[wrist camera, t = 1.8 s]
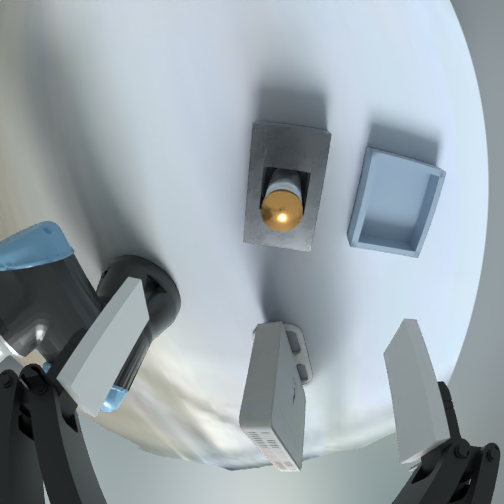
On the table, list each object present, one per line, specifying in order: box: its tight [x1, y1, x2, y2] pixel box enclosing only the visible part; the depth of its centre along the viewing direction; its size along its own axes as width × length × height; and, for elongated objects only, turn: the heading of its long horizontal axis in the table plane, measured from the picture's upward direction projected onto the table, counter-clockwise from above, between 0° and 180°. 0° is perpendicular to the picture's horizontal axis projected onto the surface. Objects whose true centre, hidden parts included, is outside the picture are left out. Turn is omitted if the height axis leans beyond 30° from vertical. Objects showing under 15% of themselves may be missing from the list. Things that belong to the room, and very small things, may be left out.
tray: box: [347, 147, 446, 258], centre depth 30 cm, size 12×10×3 cm
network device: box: [239, 321, 313, 471], centre depth 41 cm, size 26×9×20 cm, turn 17°
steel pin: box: [261, 168, 303, 231], centre depth 28 cm, size 4×4×10 cm
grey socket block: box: [243, 121, 331, 252], centre depth 31 cm, size 14×8×4 cm, turn 176°
